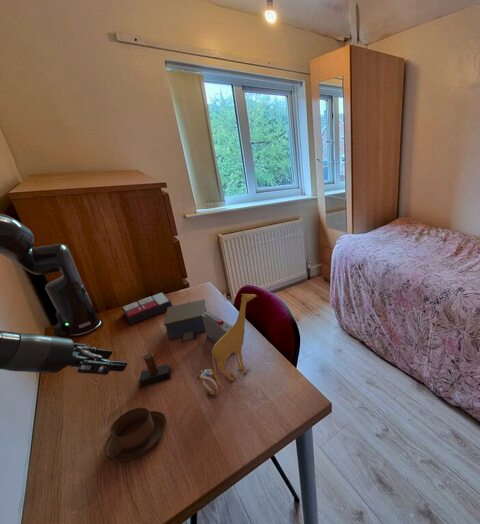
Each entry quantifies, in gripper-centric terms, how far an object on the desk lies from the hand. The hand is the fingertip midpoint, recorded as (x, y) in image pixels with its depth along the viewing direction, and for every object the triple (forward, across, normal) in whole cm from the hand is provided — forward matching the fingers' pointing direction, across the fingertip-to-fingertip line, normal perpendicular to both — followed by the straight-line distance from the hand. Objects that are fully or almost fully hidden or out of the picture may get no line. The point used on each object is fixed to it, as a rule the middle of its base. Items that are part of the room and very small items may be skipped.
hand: (117, 360), depth 75 cm
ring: (+17, -19, 0) cm, 26 cm away
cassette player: (+27, -4, -10) cm, 29 cm away
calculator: (+26, +40, -8) cm, 48 cm away
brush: (+13, 0, +4) cm, 13 cm away
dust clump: (+23, +9, -8) cm, 27 cm away
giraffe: (+24, -20, -7) cm, 32 cm away
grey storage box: (+27, +15, -10) cm, 33 cm away
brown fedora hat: (+4, -16, +13) cm, 21 cm away
